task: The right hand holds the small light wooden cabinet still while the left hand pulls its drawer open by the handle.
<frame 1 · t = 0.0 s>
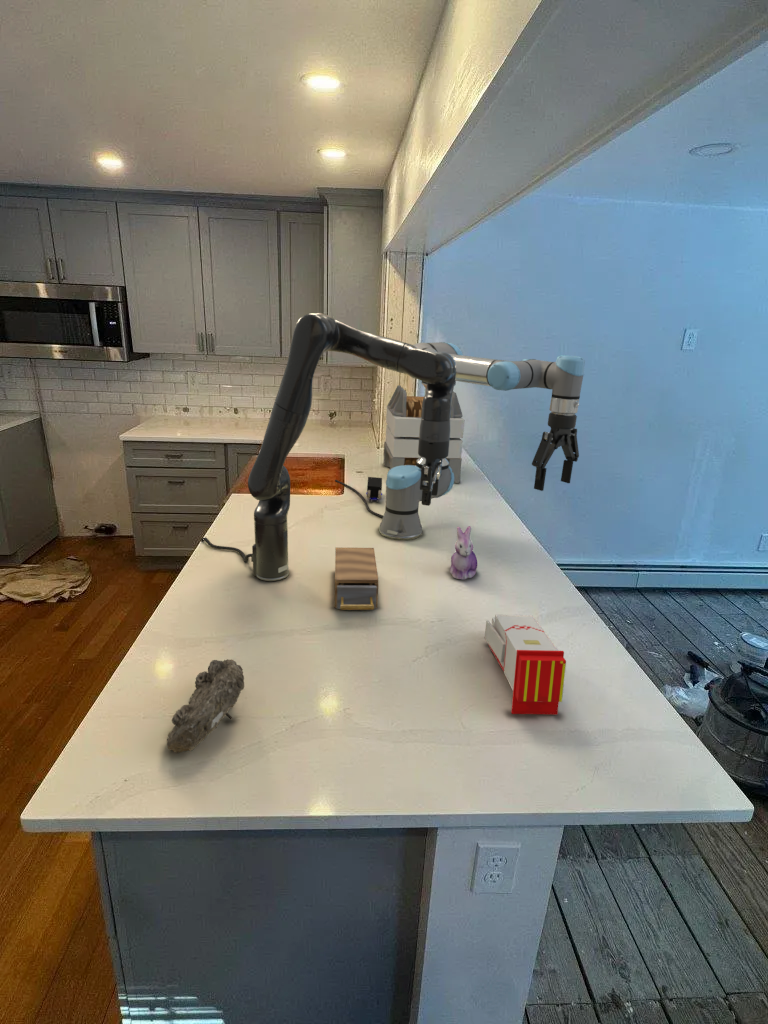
left hand: (429, 499, 144), 29 cm above the counter, tool pointing down, fingers open, 8 cm apart
right hand: (552, 485, 166), 28 cm above the counter, tool pointing down, fingers open, 13 cm apart
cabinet: (354, 589, 159), on the counter
drawer: (355, 585, 153), point 4 cm above the counter, slide at 1.1 cm
white crate: (419, 473, 275), on the counter
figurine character: (374, 498, 235), on the counter
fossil: (212, 717, 108), on the counter
figurine: (463, 574, 172), on the counter
toy: (516, 673, 125), on the counter
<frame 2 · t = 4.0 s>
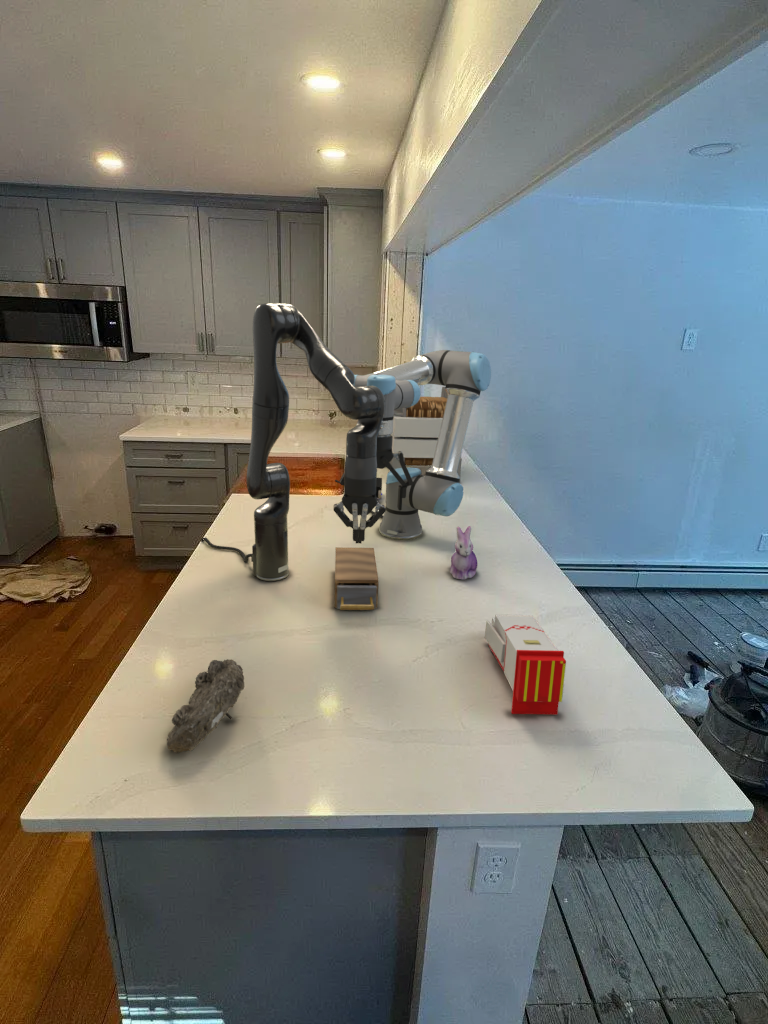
left hand: (358, 542, 138), 21 cm above the counter, tool pointing down, fingers closed
right hand: (375, 508, 159), 22 cm above the counter, tool pointing down, fingers open, 13 cm apart
nothing on the counter moved.
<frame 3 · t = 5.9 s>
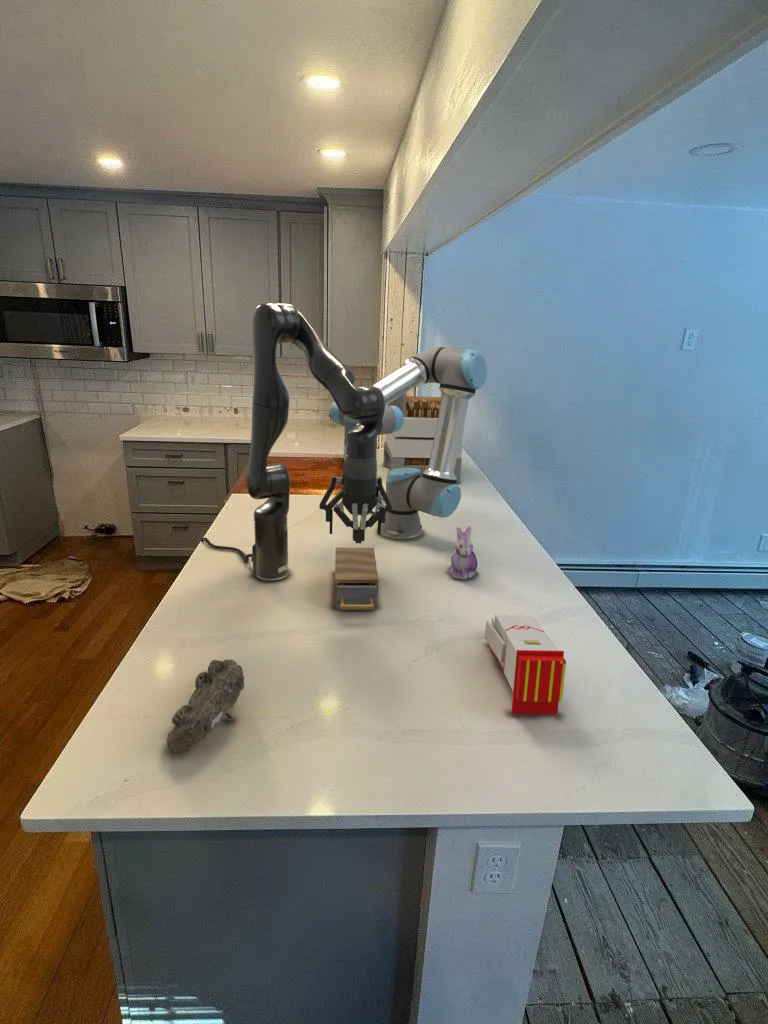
left hand: (358, 542, 138), 21 cm above the counter, tool pointing down, fingers closed
right hand: (355, 532, 161), 14 cm above the counter, tool pointing down, fingers open, 13 cm apart
nothing on the counter moved.
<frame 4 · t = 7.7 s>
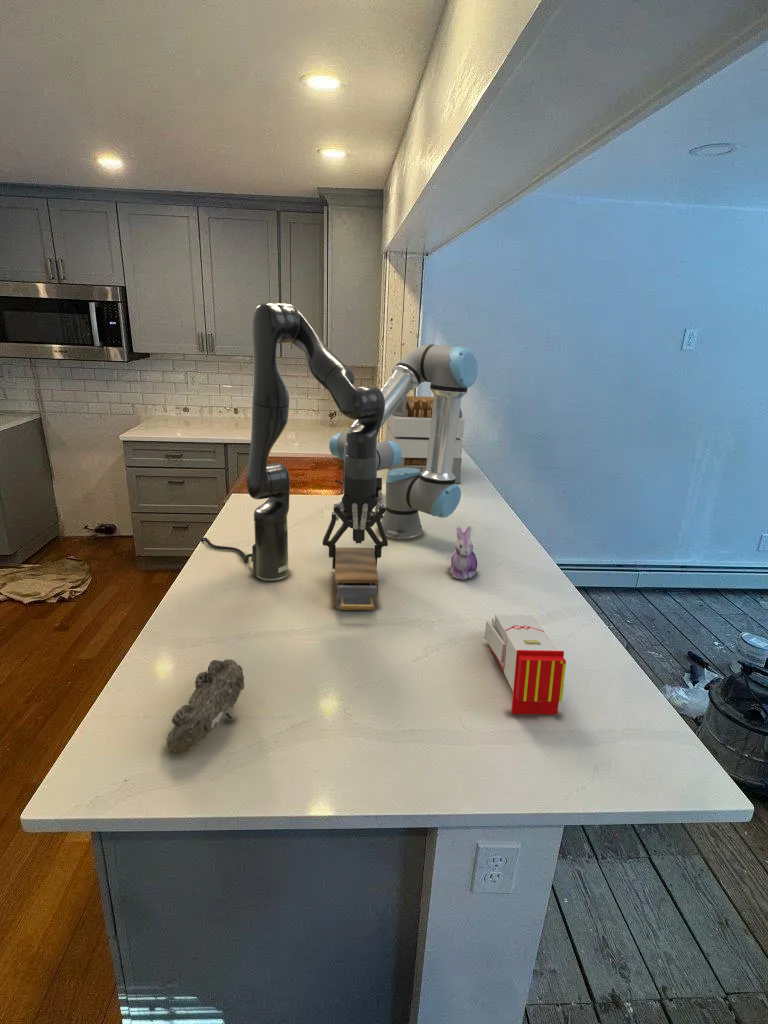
left hand: (358, 542, 138), 21 cm above the counter, tool pointing down, fingers closed
right hand: (354, 567, 165), 4 cm above the counter, tool pointing down, fingers closed on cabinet, 11 cm apart
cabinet: (354, 589, 159), on the counter, touching right hand
everything else where it was.
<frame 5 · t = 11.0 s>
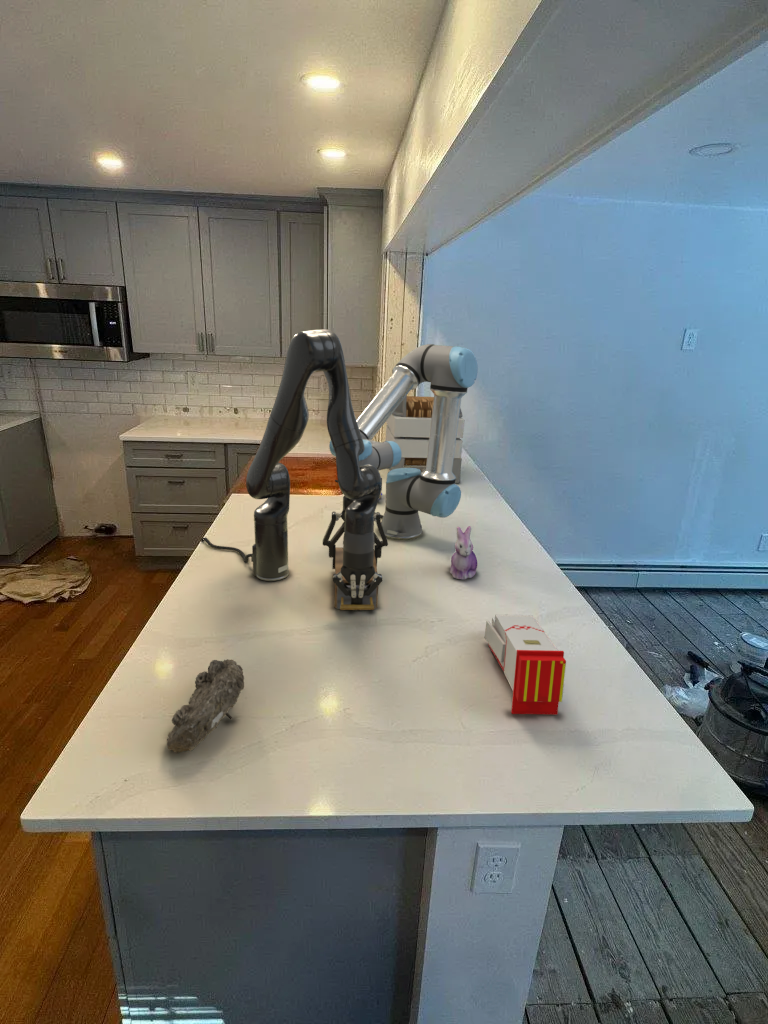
left hand: (356, 609, 144), 3 cm above the counter, tool pointing down, fingers closed
right hand: (354, 567, 165), 4 cm above the counter, tool pointing down, fingers closed on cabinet, 11 cm apart
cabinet: (354, 589, 159), on the counter, touching right hand
drawer: (355, 585, 153), point 4 cm above the counter, slide at 1.1 cm, touching left hand
everything else where it was.
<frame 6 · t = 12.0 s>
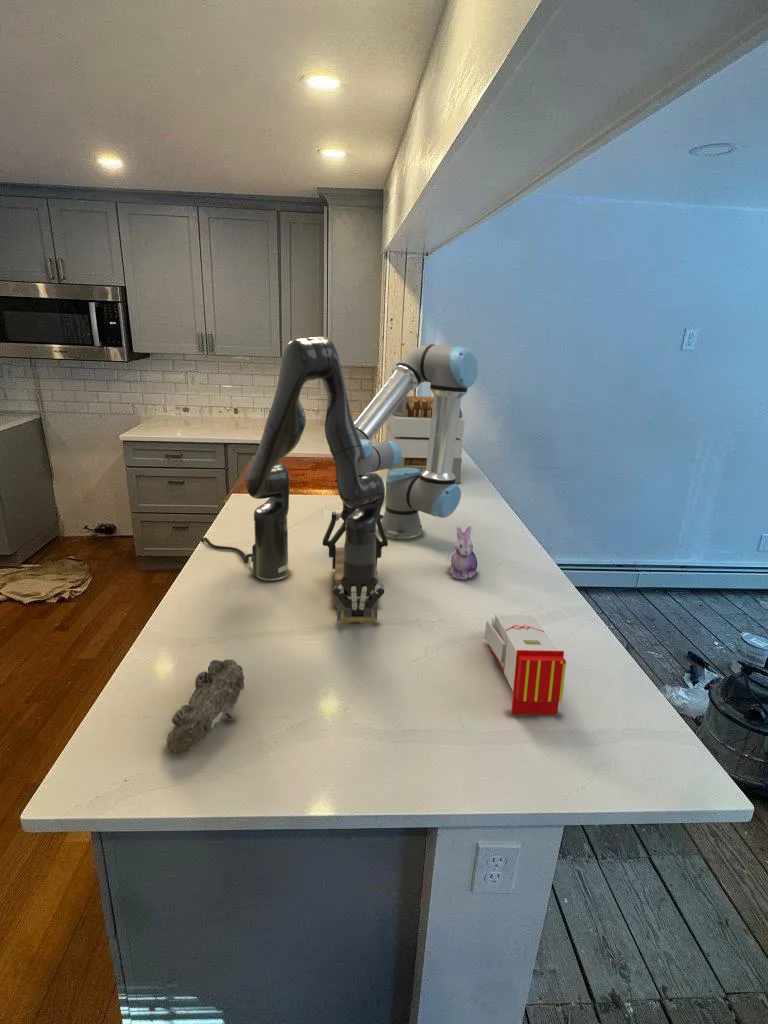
left hand: (357, 621, 138), 3 cm above the counter, tool pointing down, fingers closed
right hand: (354, 567, 165), 4 cm above the counter, tool pointing down, fingers closed on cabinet, 11 cm apart
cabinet: (354, 589, 159), on the counter, touching right hand
drawer: (356, 595, 147), point 4 cm above the counter, slide at 7.0 cm, touching left hand
everything else where it was.
when the right hand's fingers open (4 cm above the counter, at t = 13.8 s): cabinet stays where it is, on the counter.
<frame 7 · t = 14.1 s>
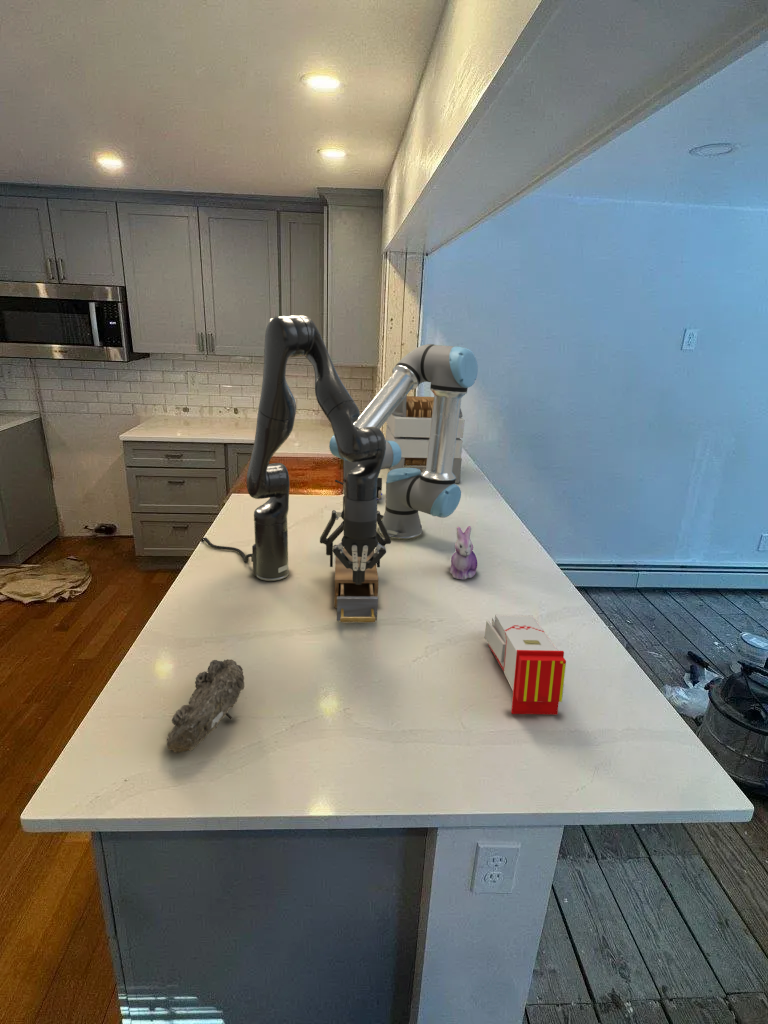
left hand: (358, 583, 135), 13 cm above the counter, tool pointing down, fingers closed
right hand: (354, 565, 164), 4 cm above the counter, tool pointing down, fingers open, 13 cm apart
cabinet: (354, 589, 159), on the counter
drawer: (356, 596, 147), point 4 cm above the counter, slide at 7.0 cm
everything else where it was.
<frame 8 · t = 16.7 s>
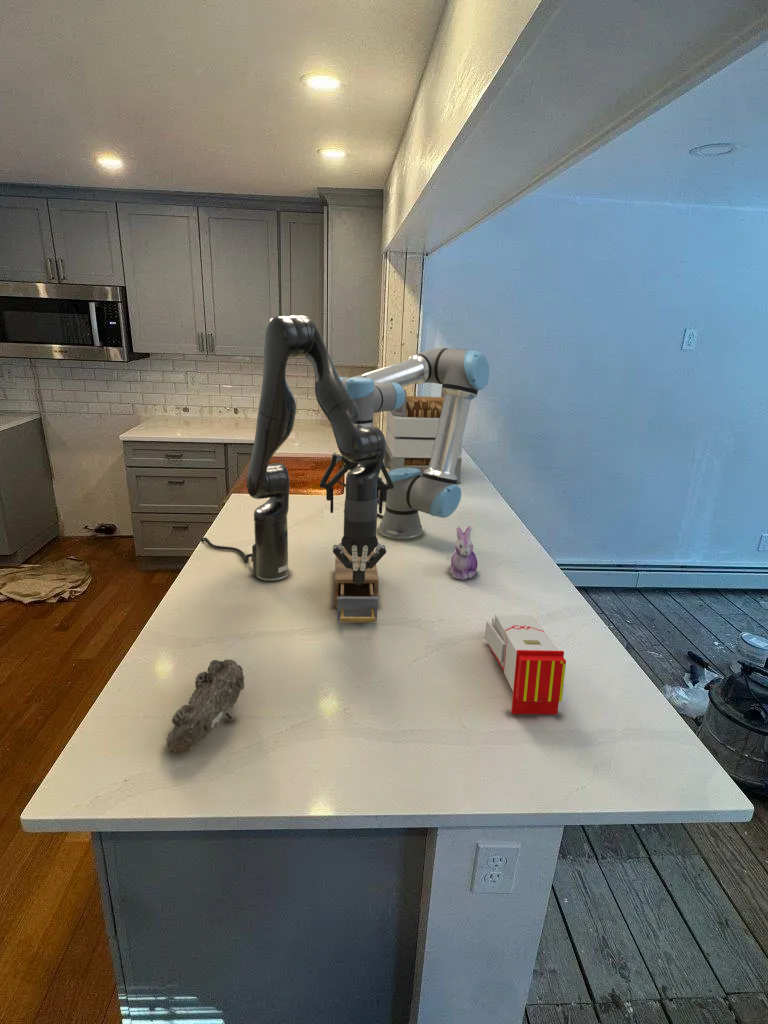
left hand: (358, 583, 135), 13 cm above the counter, tool pointing down, fingers closed
right hand: (356, 511, 159), 21 cm above the counter, tool pointing down, fingers open, 13 cm apart
nothing on the counter moved.
at the end: drawer slide at 7.0 cm; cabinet tilted 0°; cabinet never tilted more than 1° during the clip; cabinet moved 0.0 cm from its start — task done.
